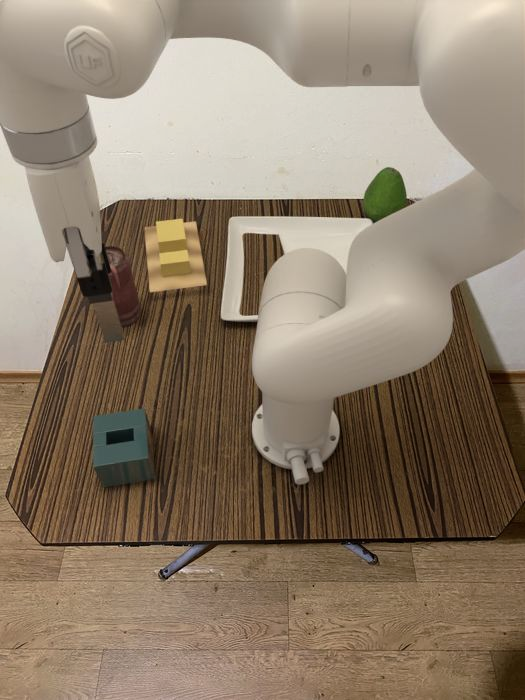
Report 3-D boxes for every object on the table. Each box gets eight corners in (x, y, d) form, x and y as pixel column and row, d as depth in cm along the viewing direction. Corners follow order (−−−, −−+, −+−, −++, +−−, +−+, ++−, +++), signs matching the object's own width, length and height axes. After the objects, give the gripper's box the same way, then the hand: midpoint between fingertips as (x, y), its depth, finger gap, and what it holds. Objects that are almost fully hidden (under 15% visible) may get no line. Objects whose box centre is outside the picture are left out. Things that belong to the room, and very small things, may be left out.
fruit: (382, 239, 110) (393, 186, 101) (352, 220, 114) (359, 167, 105) (408, 222, 114) (421, 169, 104) (378, 204, 117) (388, 151, 108)
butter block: (187, 251, 106) (185, 238, 104) (160, 254, 106) (157, 242, 103) (184, 231, 110) (182, 218, 108) (158, 234, 109) (155, 221, 107)
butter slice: (190, 273, 102) (189, 260, 100) (162, 277, 102) (160, 264, 100) (189, 262, 104) (187, 249, 102) (161, 265, 104) (159, 253, 101)
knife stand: (155, 479, 79) (148, 457, 74) (103, 487, 78) (92, 466, 73) (151, 431, 84) (144, 408, 79) (102, 438, 83) (93, 415, 78)
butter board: (207, 290, 102) (207, 284, 101) (150, 298, 101) (149, 292, 99) (196, 227, 113) (195, 221, 112) (145, 233, 112) (144, 227, 111)
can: (119, 340, 95) (100, 277, 84) (100, 318, 98) (79, 255, 87) (150, 322, 97) (135, 259, 86) (130, 301, 100) (114, 238, 89)
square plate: (386, 336, 95) (390, 320, 92) (220, 334, 95) (219, 318, 92) (370, 231, 112) (373, 214, 109) (229, 229, 112) (228, 213, 109)
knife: (126, 346, 71) (99, 253, 60) (104, 349, 71) (73, 257, 59) (125, 331, 73) (98, 239, 61) (104, 335, 73) (73, 242, 61)
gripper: (11, 91, 55) (64, 242, 69) (-2, 190, 45) (62, 342, 59) (91, 83, 56) (127, 233, 70) (96, 178, 46) (136, 331, 60)
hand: (97, 282), depth 64 cm, fingers closed on knife, 2 cm apart
